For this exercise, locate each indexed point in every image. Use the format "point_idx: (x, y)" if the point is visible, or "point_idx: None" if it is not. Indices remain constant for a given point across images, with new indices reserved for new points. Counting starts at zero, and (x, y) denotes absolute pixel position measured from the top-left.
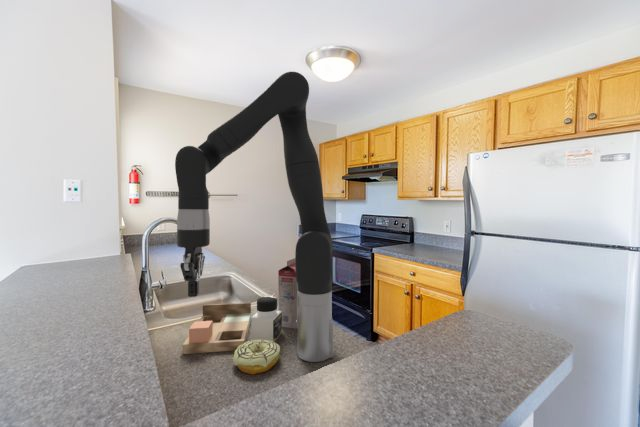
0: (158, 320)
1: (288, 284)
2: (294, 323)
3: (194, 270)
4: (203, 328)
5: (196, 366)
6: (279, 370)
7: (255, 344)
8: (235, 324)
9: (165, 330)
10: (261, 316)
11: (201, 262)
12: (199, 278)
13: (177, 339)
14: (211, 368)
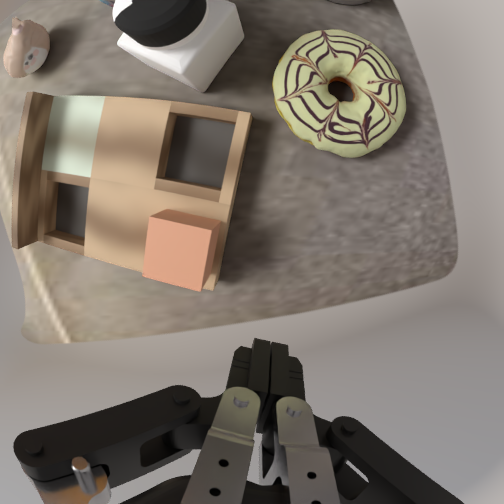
0: (33, 333)
1: None
2: None
3: (391, 479)
4: (209, 246)
5: (298, 245)
6: None
7: (319, 86)
8: (116, 137)
9: (78, 321)
10: (196, 38)
11: (235, 495)
12: (243, 394)
13: (129, 295)
14: (323, 210)
